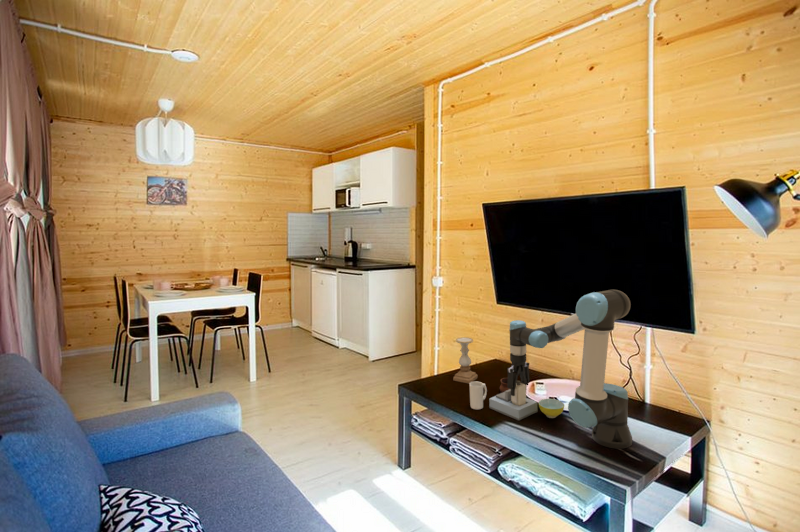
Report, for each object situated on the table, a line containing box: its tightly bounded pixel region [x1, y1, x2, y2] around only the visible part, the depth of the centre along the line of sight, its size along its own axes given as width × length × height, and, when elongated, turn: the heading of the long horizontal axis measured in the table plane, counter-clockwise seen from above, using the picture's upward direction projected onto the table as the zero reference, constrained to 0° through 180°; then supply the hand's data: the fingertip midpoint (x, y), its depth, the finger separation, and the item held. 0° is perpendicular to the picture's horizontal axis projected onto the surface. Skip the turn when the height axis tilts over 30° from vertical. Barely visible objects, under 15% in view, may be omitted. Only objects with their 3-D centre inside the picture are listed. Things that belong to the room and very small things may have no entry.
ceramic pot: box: [499, 377, 509, 393], centre depth 236 cm, size 18×18×7 cm
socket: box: [488, 395, 539, 421], centre depth 214 cm, size 18×14×5 cm
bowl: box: [538, 398, 565, 419], centre depth 206 cm, size 11×12×6 cm
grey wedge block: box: [495, 389, 511, 402], centre depth 217 cm, size 8×8×5 cm
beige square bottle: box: [512, 380, 527, 406], centre depth 211 cm, size 4×4×14 cm
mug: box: [468, 380, 488, 410], centre depth 220 cm, size 10×7×12 cm, turn 120°
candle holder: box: [452, 336, 479, 384], centre depth 257 cm, size 11×11×24 cm
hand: (518, 399), depth 211 cm, fingers open, 6 cm apart
